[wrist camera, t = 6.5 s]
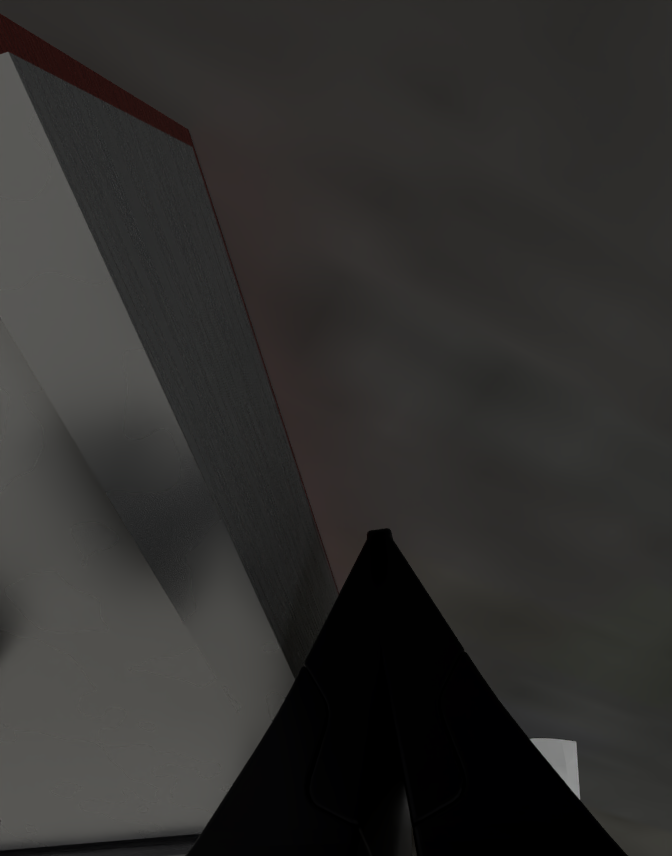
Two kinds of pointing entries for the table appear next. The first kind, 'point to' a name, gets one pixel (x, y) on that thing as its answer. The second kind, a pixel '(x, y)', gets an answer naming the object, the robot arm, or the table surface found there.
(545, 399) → the table surface
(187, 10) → the table surface
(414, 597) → the robot arm
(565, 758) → the heart sculpture
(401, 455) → the table surface
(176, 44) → the table surface
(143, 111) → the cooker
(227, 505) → the lid
